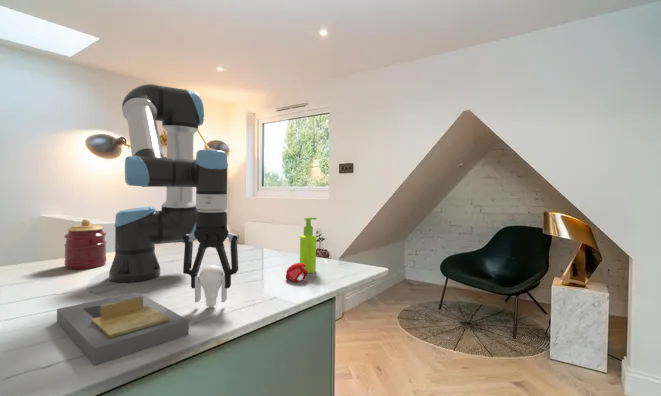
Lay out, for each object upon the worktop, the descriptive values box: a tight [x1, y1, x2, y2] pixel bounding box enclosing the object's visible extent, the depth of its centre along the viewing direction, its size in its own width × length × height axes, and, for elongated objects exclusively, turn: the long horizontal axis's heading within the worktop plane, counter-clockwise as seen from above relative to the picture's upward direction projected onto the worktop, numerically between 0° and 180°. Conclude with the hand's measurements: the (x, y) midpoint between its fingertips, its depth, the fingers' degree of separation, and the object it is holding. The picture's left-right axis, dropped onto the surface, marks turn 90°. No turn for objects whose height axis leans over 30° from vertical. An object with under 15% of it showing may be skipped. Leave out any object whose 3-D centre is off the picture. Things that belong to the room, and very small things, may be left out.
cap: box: [285, 262, 308, 283], centre depth 115 cm, size 8×6×6 cm
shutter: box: [92, 296, 170, 338], centre depth 71 cm, size 11×11×3 cm
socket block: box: [56, 291, 190, 366], centre depth 75 cm, size 28×17×3 cm, turn 49°
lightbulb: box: [199, 264, 224, 309], centre depth 88 cm, size 6×6×11 cm
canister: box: [63, 218, 107, 270], centre depth 129 cm, size 13×13×18 cm
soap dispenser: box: [299, 216, 317, 274], centre depth 128 cm, size 6×7×20 cm
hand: (211, 300), depth 88 cm, fingers closed on lightbulb, 6 cm apart
